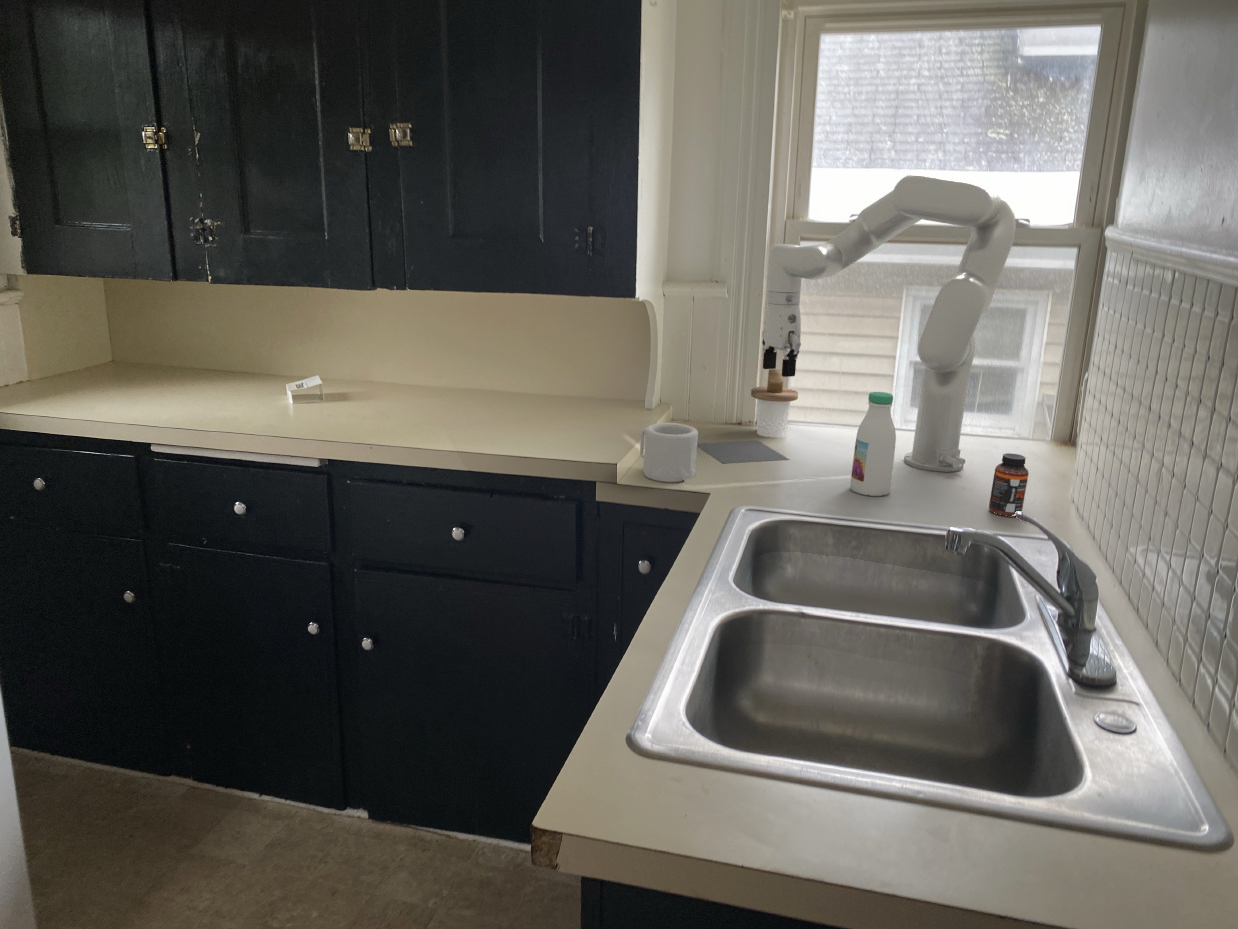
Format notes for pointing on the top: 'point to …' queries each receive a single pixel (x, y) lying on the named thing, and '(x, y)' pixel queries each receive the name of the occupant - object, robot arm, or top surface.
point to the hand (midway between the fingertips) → (778, 372)
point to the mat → (741, 452)
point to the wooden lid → (774, 389)
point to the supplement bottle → (1009, 485)
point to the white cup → (772, 418)
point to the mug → (669, 452)
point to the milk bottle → (874, 448)
